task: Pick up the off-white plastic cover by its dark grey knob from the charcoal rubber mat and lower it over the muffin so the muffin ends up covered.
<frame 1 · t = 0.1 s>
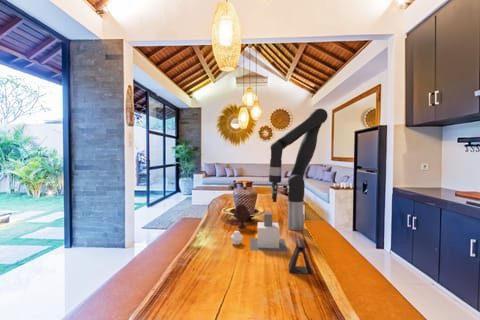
hand: (274, 200, 167), 17 cm above the table, tool pointing down, fingers open, 8 cm apart
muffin: (236, 244, 139), on the table
cover: (268, 228, 138), on the mat
ice cream bowl: (242, 227, 169), on the table
mat: (267, 244, 138), on the table
phone stand: (299, 270, 109), on the table
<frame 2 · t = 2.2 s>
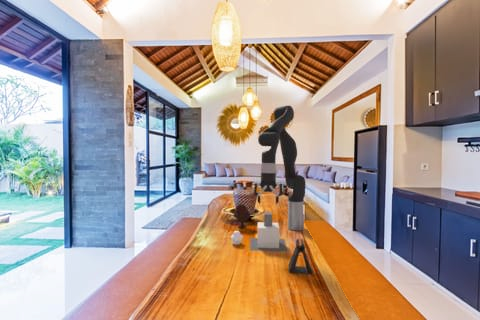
hand: (267, 203, 137), 21 cm above the table, tool pointing down, fingers open, 8 cm apart
nothing on the table moved.
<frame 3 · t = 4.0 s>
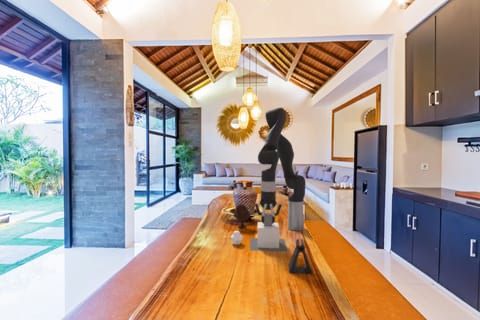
hand: (268, 223, 138), 11 cm above the table, tool pointing down, fingers closed on cover, 4 cm apart
cover: (268, 228, 138), on the mat, touching gripper
everything else where it was.
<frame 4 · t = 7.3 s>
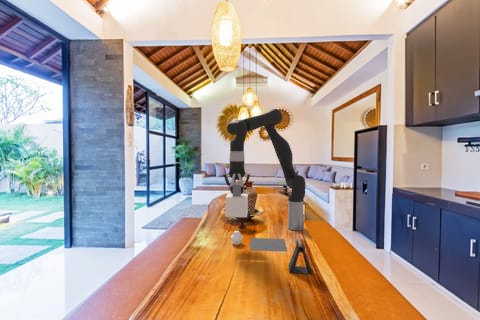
hand: (236, 193, 138), 26 cm above the table, tool pointing down, fingers closed on cover, 4 cm apart
cover: (237, 199, 138), point 23 cm above the table, touching gripper
everything else where it was.
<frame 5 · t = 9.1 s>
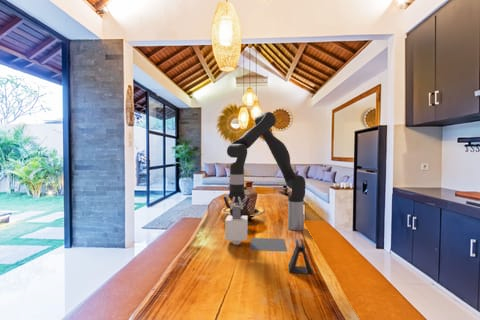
hand: (236, 216, 139), 15 cm above the table, tool pointing down, fingers closed on cover, 4 cm apart
cover: (236, 221, 139), point 12 cm above the table, touching gripper
everything else where it was.
when the fingers open (12 cm above the table, at t = 10.5 s): cover drops 1 cm, on the table.
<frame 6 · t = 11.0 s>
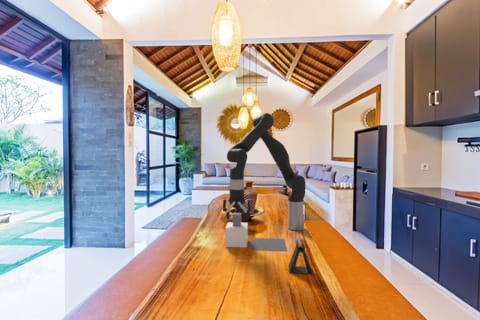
hand: (236, 219, 139), 13 cm above the table, tool pointing down, fingers open, 8 cm apart
cover: (237, 228, 139), on the table
everything else where it was.
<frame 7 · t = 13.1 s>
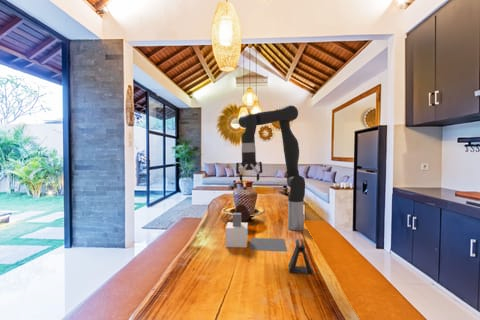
hand: (249, 181, 147), 32 cm above the table, tool pointing down, fingers open, 8 cm apart
nothing on the table moved.
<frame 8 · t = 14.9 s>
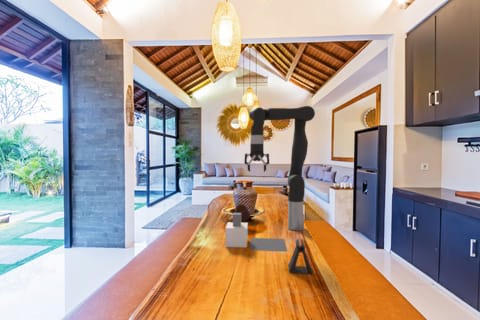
hand: (256, 171, 155), 36 cm above the table, tool pointing down, fingers open, 8 cm apart
nothing on the table moved.
at the end: cover 0.1 cm from the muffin (horizontally); cover on the table; cover tilted 0° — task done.
